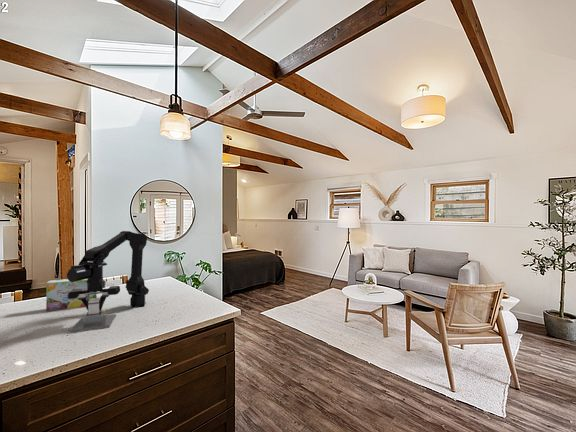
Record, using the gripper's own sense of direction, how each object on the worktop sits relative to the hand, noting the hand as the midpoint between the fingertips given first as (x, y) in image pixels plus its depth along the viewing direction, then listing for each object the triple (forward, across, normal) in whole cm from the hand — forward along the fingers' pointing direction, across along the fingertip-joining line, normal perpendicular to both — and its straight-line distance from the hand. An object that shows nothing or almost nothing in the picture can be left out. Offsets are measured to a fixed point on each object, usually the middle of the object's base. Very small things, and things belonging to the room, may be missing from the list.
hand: (95, 310), depth 120 cm
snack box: (+6, +17, -30) cm, 35 cm away
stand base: (+6, 0, 0) cm, 6 cm away
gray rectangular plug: (+5, 0, 0) cm, 5 cm away
